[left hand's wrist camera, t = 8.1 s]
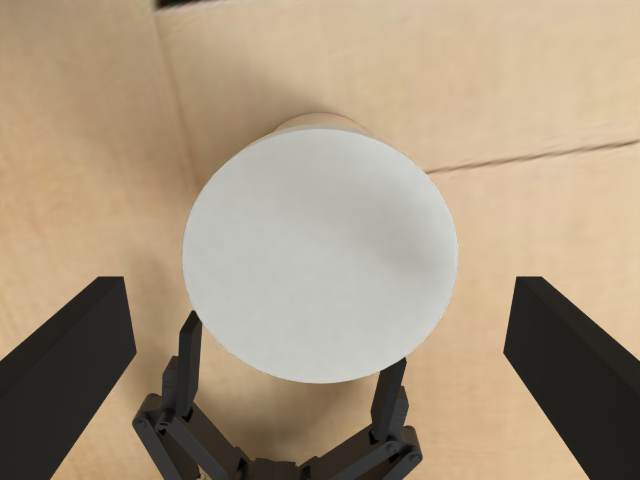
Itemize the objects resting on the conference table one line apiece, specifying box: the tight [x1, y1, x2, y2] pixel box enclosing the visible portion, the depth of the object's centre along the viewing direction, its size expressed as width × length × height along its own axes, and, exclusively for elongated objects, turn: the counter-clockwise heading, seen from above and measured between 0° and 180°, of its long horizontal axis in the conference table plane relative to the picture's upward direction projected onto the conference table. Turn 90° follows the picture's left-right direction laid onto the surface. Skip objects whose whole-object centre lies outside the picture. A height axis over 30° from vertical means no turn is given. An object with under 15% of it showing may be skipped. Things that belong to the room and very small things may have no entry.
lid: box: [182, 124, 458, 384], centre depth 17 cm, size 11×11×2 cm
